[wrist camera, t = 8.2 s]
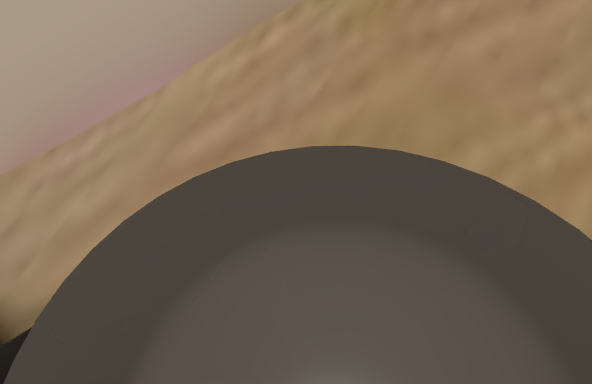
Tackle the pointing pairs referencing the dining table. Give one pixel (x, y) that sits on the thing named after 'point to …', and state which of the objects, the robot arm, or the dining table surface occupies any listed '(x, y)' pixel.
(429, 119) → the dining table surface
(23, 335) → the robot arm
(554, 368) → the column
